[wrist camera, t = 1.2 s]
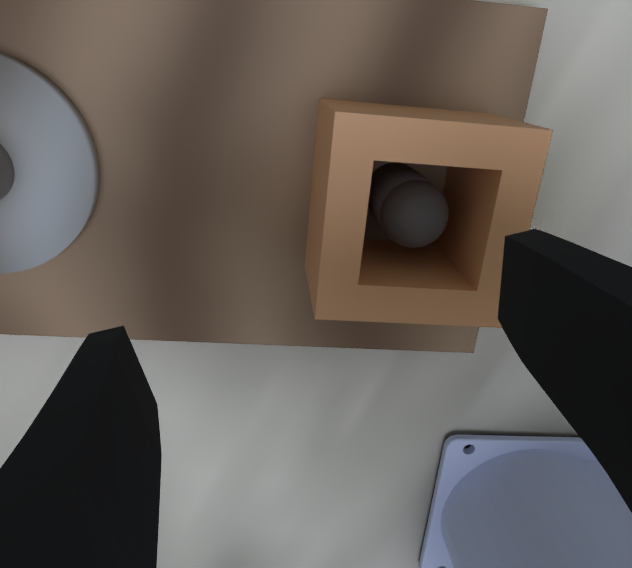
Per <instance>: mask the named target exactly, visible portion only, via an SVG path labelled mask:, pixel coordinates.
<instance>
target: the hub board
mask: <svg viewBox="0 0 632 568" xmlns="http://www.w3.org/2000/svg"><path fill="white" fill-rule="evenodd" d="M547 11H548V9H545V8H536V7H527V6H518V5H509V4H500V3H491V2H482V1H473V0H0V334H10V335H36V336H61V337H87V336H88V334H89V333H94V332H98V331H102V330H107V329H111V328H115V327H119V326H124V327H125V330H126V332H127V334H128V337H129V339H137V340H162V341H187V342H212V343H238V344H263V345H288V346H313V347H339V348H364V349H389V350H414V351H439V352H465V353H474V348H475V344H476V339H477V334H478V330H479V327H474V326H452V325H430V324H407V323H385V322H363V321H341V320H318V319H315V318H314V313H313V307H312V302H311V297H310V291H309V286H308V280H307V275H306V270H305V255H306V244H307V232H308V221H309V209H310V198H311V186H312V175H313V163H314V152H315V140H316V128H317V117H318V105H319V98H320V99H332V100H343V101H354V102H366V103H377V104H388V105H400V106H411V107H423V108H434V109H445V110H457V111H468V112H479V113H490V114H494V115H497V116H501V117H505V118H509V119H513V120H516V121H520V122H524V118H525V113H526V108H527V104H528V99H529V94H530V90H531V85H532V81H533V76H534V71H535V67H536V62H537V58H538V53H539V48H540V44H541V39H542V34H543V30H544V25H545V21H546V16H547ZM446 171H447V166H440V165H427V164H414V163H401V162H388V161H375V160H374V162H373V170H372V178H371V186H370V194H369V202H368V210H367V218H366V226H365V234H364V239H377V240H392V241H393V242H395V243H397V244H399V245H401V246H404V247H409V248H418V247H423V246H426V245H428V244H430V243H434V241H435V240H436V239H437V238H438V237H439V236H440V235H441V234H442V232H443V231H444V229H445V227H446V225H447V222H448V216H449V209H448V204H447V201H446V198H445V196H444V195H443V189H444V183H445V177H446Z"/></svg>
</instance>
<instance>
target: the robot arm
mask: <svg viewBox="0 0 632 568" xmlns="http://www.w3.org/2000/svg"><path fill="white" fill-rule="evenodd" d="M498 320H499V322H500V324H501V326H502V328H503V330H504V331H505V333H506V335H507V337H508V339H509V341H510V342H511V344H512V346H513V347H514V349H515V351H516V352H517V354H518V356H519V358H520V359H521V361H522V362H523V364H524V365H525V366H526V368H527V369H528V370H529V372H530V373H531V374H532V376H533V377H534V378H535V379H536V381H537V382H538V383H539V385H540V386H541V387H542V389H543V390H544V391H545V393H546V394H547V395H548V396H549V398H550V399H551V400H552V402H553V403H554V404H555V405H556V407H557V408H558V409H559V411H560V412H561V413H562V414H563V416H564V417H565V418H566V420H567V421H568V422H569V423H570V425H571V426H572V427H573V429H574V430H575V431H576V432H577V434H578V435H579V436H580V437H540V436H496V435H452V436H450V437H448V438H447V439H446V441H445V443H444V446H443V451H442V456H441V461H440V466H439V470H438V475H437V480H436V485H435V489H434V494H433V499H432V504H431V509H430V513H429V518H428V523H427V528H426V533H425V537H424V542H423V547H422V552H421V556H420V561H419V568H632V267H630V266H628V265H625V264H623V263H620V262H618V261H615V260H613V259H610V258H608V257H606V256H603V255H601V254H598V253H596V252H593V251H591V250H589V249H586V248H584V247H581V246H579V245H577V244H574V243H572V242H569V241H567V240H564V239H562V238H559V237H556V236H554V235H551V234H548V233H546V232H543V231H540V230H537V229H532V230H528V231H524V232H520V233H515V234H511V235H507V236H505V241H504V252H503V263H502V274H501V285H500V297H499V308H498ZM470 444H471V446H470V447H469V448H466V449H464V447H465V446H466V445H470ZM160 479H161V443H160V430H159V419H158V408H157V403H156V400H155V398H154V396H153V393H152V391H151V389H150V386H149V384H148V382H147V379H146V377H145V374H144V372H143V370H142V367H141V365H140V363H139V360H138V358H137V356H136V353H135V351H134V349H133V346H132V344H131V341H130V339H129V337H128V334H127V332H126V330H125V327H124V326H119V327H115V328H111V329H107V330H102V331H98V332H94V333H89V334H88V336H87V337H86V339H85V340H84V342H83V343H82V345H81V346H80V348H79V350H78V351H77V353H76V354H75V356H74V358H73V359H72V361H71V363H70V364H69V366H68V368H67V369H66V371H65V372H64V374H63V376H62V377H61V379H60V381H59V382H58V384H57V385H56V387H55V389H54V390H53V392H52V393H51V395H50V397H49V398H48V400H47V401H46V403H45V404H44V406H43V407H42V409H41V410H40V412H39V413H38V415H37V417H36V418H35V420H34V421H33V423H32V424H31V426H30V427H29V429H28V430H27V432H26V433H25V435H24V436H23V438H22V439H21V441H20V442H19V443H18V445H17V446H16V448H15V449H14V450H13V452H12V453H11V455H10V456H9V457H8V459H7V460H6V461H5V463H4V464H3V466H2V467H1V468H0V568H156V564H157V543H158V523H159V502H160ZM440 566H441V567H440Z"/></svg>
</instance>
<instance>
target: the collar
mask: <svg viewBox="0 0 632 568" xmlns="http://www.w3.org/2000/svg"><path fill="white" fill-rule="evenodd" d="M552 132H553V130H550V129H547V128H543V127H539V126H535V125H531V124H528V123H524V122H520V121H516V120H513V119H509V118H505V117H501V116H497V115H494V114H490V113H479V112H468V111H457V110H445V109H434V108H423V107H411V106H400V105H388V104H377V103H366V102H354V101H343V100H332V99H320V98H319V105H318V117H317V128H316V140H315V152H314V163H313V175H312V186H311V198H310V209H309V221H308V232H307V244H306V255H305V270H306V275H307V280H308V286H309V291H310V297H311V302H312V307H313V313H314V318H315V319H318V320H341V321H363V322H385V323H407V324H430V325H452V326H474V327H496V328H502V326H501V324H500V322H499V320H498V308H499V297H500V285H501V274H502V263H503V252H504V241H505V236H507V235H511V234H515V233H520V232H524V231H528V230H530V225H531V221H532V217H533V213H534V208H535V204H536V200H537V196H538V191H539V187H540V183H541V179H542V175H543V170H544V166H545V162H546V158H547V153H548V149H549V145H550V141H551V136H552ZM374 160H375V161H388V162H401V163H414V164H427V165H440V166H447V171H446V177H445V183H444V189H443V195H444V196H445V198H446V201H447V204H448V209H449V216H448V222H447V225H446V227H445V229H444V231H443V232H442V234H441V235H440V236H439V237H438V238H437V239H436V240H435V241H434V243H430V244H428V245H426V246H423V247H418V248H409V247H404V246H401V245H399V244H397V243H395V242H393V241H392V240H377V239H364V234H365V226H366V218H367V210H368V202H369V194H370V186H371V178H372V170H373V162H374Z"/></svg>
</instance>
